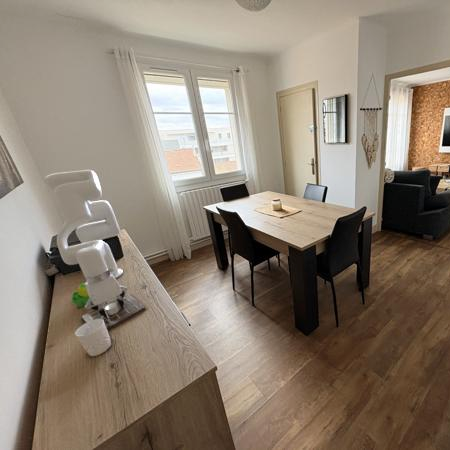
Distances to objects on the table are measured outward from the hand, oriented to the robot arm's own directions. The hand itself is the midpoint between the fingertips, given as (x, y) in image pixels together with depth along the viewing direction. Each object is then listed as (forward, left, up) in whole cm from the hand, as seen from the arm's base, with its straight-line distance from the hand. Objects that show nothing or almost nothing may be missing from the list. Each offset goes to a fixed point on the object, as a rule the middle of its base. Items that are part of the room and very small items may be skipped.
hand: (113, 311), depth 104 cm
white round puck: (0, 0, 0) cm, 0 cm away
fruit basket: (-20, -3, -2) cm, 20 cm away
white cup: (+17, -10, -2) cm, 20 cm away
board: (0, 0, -2) cm, 2 cm away
